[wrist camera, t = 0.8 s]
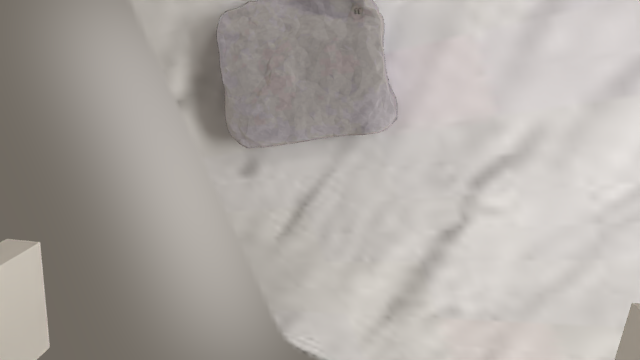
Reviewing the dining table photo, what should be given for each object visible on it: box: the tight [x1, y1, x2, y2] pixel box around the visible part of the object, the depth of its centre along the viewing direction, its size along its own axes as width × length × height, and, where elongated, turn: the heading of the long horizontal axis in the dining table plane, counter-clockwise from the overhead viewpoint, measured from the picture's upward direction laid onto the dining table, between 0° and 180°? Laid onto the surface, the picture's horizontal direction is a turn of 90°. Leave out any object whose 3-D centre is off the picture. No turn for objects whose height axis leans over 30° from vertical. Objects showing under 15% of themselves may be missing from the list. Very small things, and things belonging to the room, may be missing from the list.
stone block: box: [216, 0, 397, 148], centre depth 30 cm, size 12×5×10 cm
